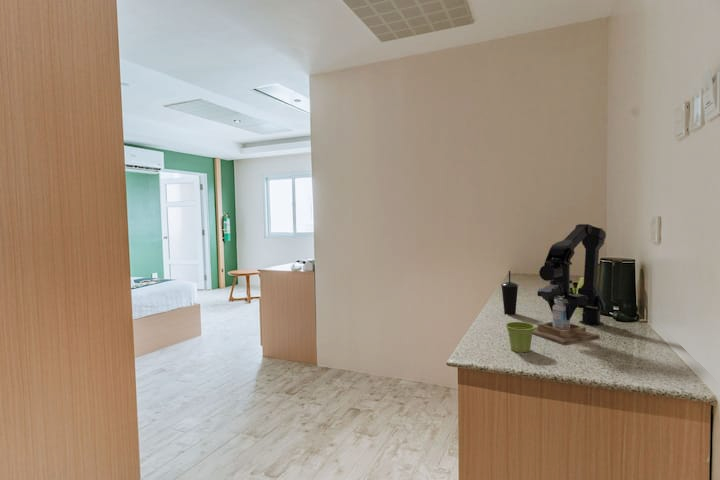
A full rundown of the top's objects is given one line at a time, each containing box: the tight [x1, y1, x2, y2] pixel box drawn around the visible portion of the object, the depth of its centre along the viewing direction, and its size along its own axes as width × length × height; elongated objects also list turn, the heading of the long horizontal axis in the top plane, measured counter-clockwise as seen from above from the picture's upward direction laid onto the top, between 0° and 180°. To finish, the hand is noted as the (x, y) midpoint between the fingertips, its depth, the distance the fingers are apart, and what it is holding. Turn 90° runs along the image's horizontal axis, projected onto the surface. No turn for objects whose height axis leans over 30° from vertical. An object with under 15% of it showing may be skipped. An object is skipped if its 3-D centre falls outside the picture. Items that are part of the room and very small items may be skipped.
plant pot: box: [505, 321, 536, 354], centre depth 143 cm, size 9×9×9 cm
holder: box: [532, 321, 600, 345], centre depth 159 cm, size 18×18×4 cm
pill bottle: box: [551, 298, 571, 330], centre depth 158 cm, size 6×6×11 cm
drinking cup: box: [500, 270, 519, 316], centre depth 192 cm, size 8×8×20 cm
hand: (561, 318), depth 159 cm, fingers closed on pill bottle, 6 cm apart
